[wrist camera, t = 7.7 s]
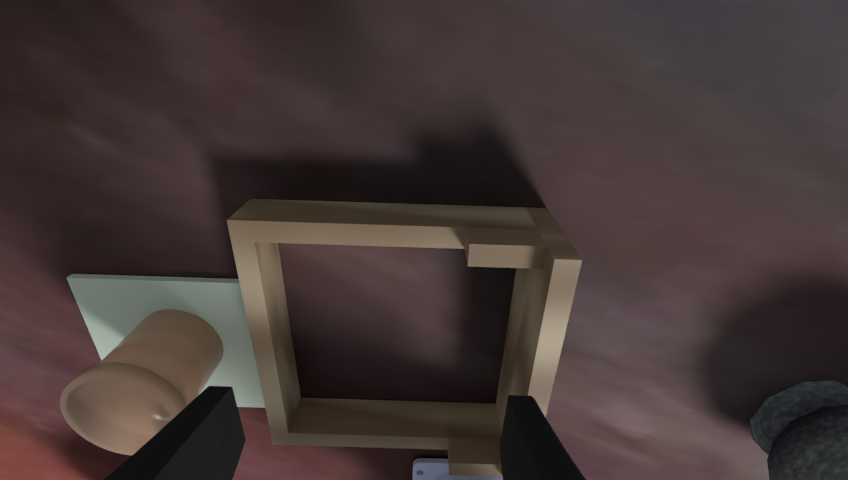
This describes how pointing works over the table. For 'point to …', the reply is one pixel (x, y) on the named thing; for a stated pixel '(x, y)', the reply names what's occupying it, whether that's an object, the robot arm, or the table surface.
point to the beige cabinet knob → (143, 381)
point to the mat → (204, 297)
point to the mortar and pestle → (805, 431)
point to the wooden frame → (407, 227)
